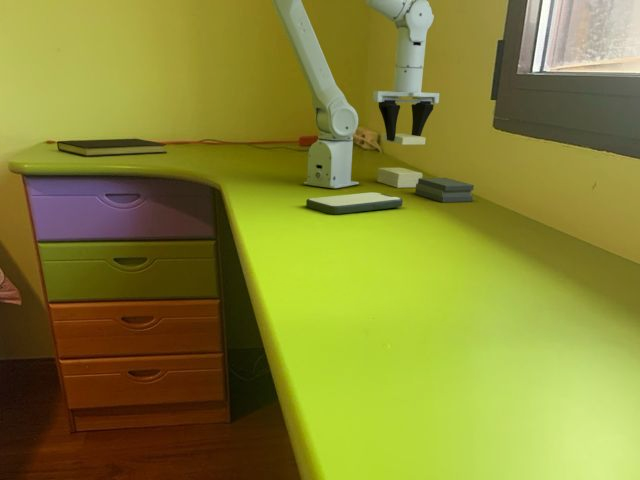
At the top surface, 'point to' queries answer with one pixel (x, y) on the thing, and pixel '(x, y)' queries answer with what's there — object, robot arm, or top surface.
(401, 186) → the cream rectangular block
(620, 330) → the top surface
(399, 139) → the cream booklet
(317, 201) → the phone case
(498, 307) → the top surface
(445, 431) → the top surface
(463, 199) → the grey book stack
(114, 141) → the hardcover book
